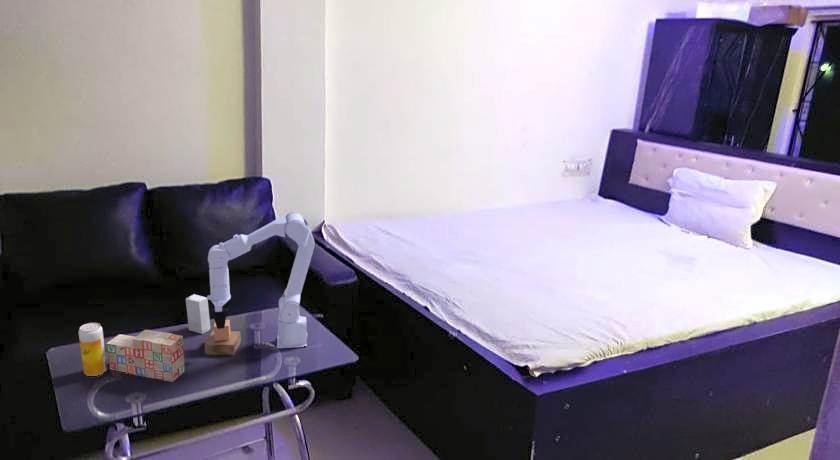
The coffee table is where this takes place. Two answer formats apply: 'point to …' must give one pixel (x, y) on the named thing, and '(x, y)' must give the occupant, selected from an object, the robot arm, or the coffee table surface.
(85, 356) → the beer can
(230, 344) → the walnut block
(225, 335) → the terracotta cube
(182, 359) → the stack of blocks
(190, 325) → the skincare box
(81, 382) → the coffee table surface
